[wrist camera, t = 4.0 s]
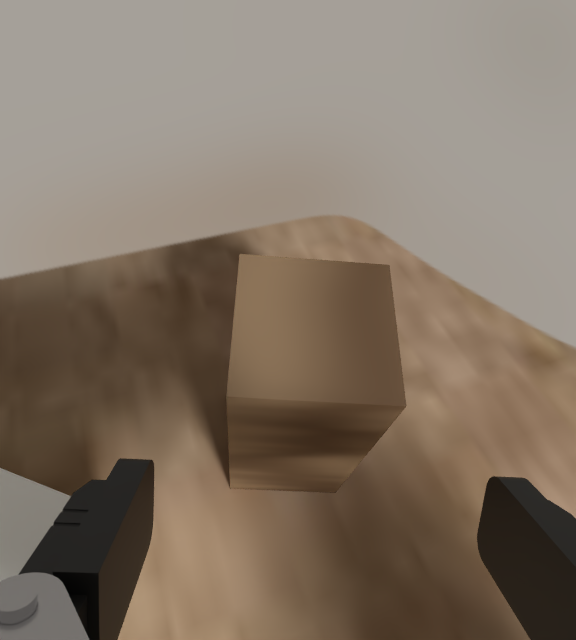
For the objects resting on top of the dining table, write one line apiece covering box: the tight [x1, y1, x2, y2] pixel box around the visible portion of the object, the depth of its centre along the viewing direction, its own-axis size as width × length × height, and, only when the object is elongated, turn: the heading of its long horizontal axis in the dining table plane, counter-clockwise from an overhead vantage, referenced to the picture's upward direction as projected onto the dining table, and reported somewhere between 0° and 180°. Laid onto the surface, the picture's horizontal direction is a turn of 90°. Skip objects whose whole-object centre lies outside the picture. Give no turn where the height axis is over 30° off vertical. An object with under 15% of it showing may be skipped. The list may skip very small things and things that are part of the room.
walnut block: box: [226, 254, 406, 493], centre depth 17 cm, size 4×4×10 cm
